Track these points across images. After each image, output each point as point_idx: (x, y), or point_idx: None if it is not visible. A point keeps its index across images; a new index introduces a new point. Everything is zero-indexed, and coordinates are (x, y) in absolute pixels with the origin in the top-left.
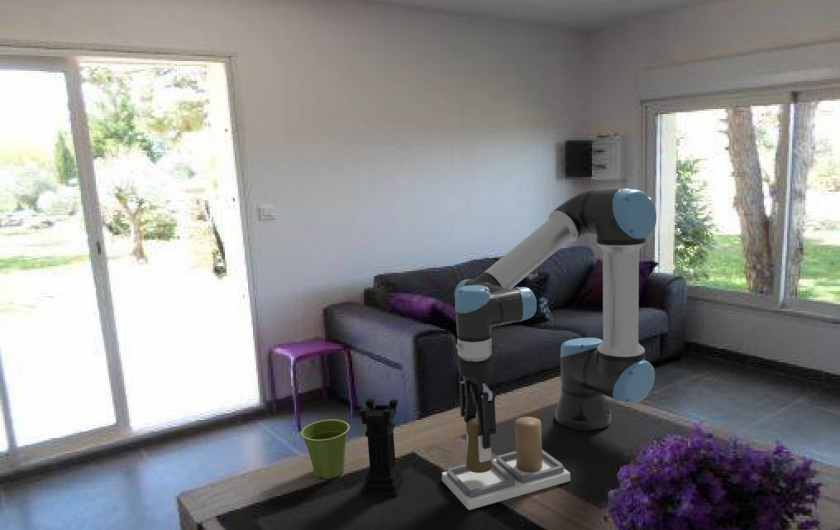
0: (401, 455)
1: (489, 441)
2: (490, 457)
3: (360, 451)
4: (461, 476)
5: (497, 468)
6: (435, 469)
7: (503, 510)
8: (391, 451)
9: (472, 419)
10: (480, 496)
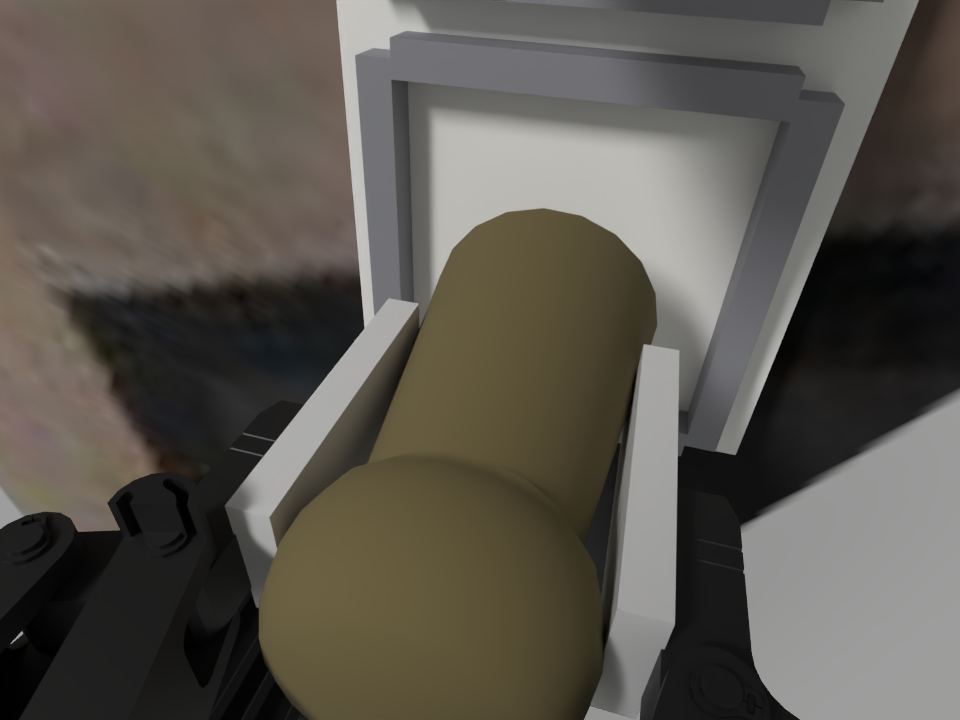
0: (91, 355)
1: (741, 591)
2: (675, 372)
3: (40, 447)
4: None
5: (546, 95)
6: (265, 311)
7: (907, 283)
8: (257, 656)
9: (307, 711)
10: (744, 381)
